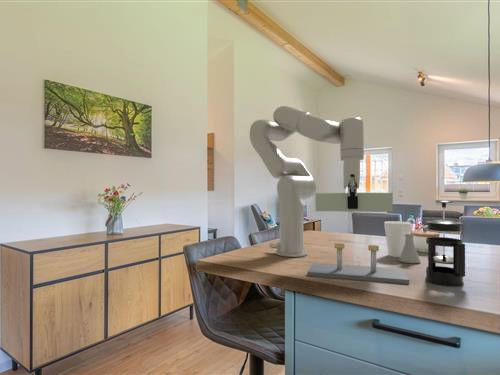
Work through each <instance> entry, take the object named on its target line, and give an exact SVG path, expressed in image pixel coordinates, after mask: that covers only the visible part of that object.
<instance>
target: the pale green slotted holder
mask: <svg viewBox="0 0 500 375" xmlns="http://www.w3.org/2000/svg"><path fill="white" fill-rule="evenodd" d="M314 195H315V196H314V197H315V199H314V200H315V202H314V203H315V212H347V213H348V212H355V213H356V212H361V213H362V212H363V213H372V212H373V213H393V210H394V208H393V207H394V206H393V200H394V199H393V192H357V197H358V209H348V198H347V197H348V192H317V193H316V192H315V194H314Z"/></svg>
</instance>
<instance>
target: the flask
mask: <svg viewBox="0 0 500 375" xmlns="http://www.w3.org/2000/svg"><path fill="white" fill-rule="evenodd" d="M413 236H414V234H411V233H409V234H405V245H404V248H403V251H402V253H401V256H400V257H398V261H399V262H401V263H405V264H407V263H408V264H420V263H421V259H420V256H419V253H418V251H417V249H416V248H415V245H414V241H413Z"/></svg>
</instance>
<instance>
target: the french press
mask: <svg viewBox="0 0 500 375" xmlns="http://www.w3.org/2000/svg"><path fill="white" fill-rule="evenodd" d="M435 203H441V207H442V208H443V209H442V211H443V212H442V219H435V220H426V221H425V222H426V224H427V230H428V231H429V230H430V231H433V232H442V236H439V237H428V238H426V243H427V244H428V252H427V254H428V255H427V260H428V261H427V262H428V265H427V267H426V268H425V271H426V272H425V273H426V274H425V281H426V282H429V283H430V284H433V285H437V286H443V287H462V286H464V284H465V282H464V280H463V279H464V277H466V244H465V243H463V242H464V241H463V240H462V239H459V238H455V237H446V234H445V232H448V233H450V232H453V233H455V232H461V231H462V227H461V226H462V225H463V222H460V221H454V220H447V219H446V216H445V215H446V214H445V213H446V212H445V211H446V210H445V208H447V203H448V204H449V203H453V201H452V200H436V201H435ZM436 246H438V247H442V252H443V253H442V255H436V253H437V252H436V249H437V248H436ZM446 247H448V248H452V250H453V251H452V254H453V255H452V256H453V257H451V256H446V252H445V251H446ZM436 264H441V266H439V265H438V266H437V265H436ZM442 265H452V267H450V266H442Z"/></svg>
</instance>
